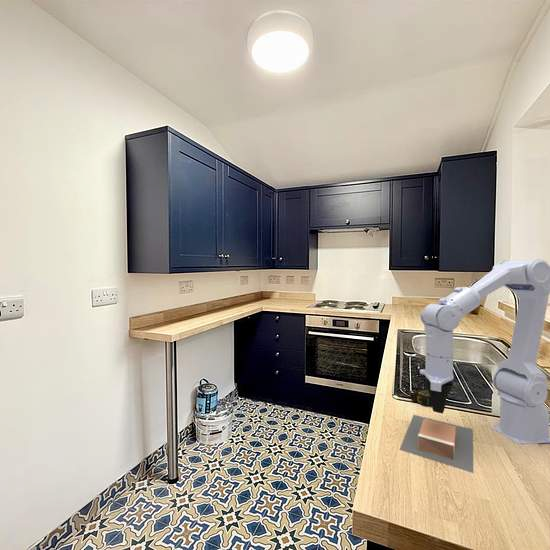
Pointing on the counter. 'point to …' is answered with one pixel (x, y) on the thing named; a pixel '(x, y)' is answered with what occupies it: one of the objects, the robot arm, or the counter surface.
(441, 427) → the salmon pink box
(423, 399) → the tape measure
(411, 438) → the charcoal mat
